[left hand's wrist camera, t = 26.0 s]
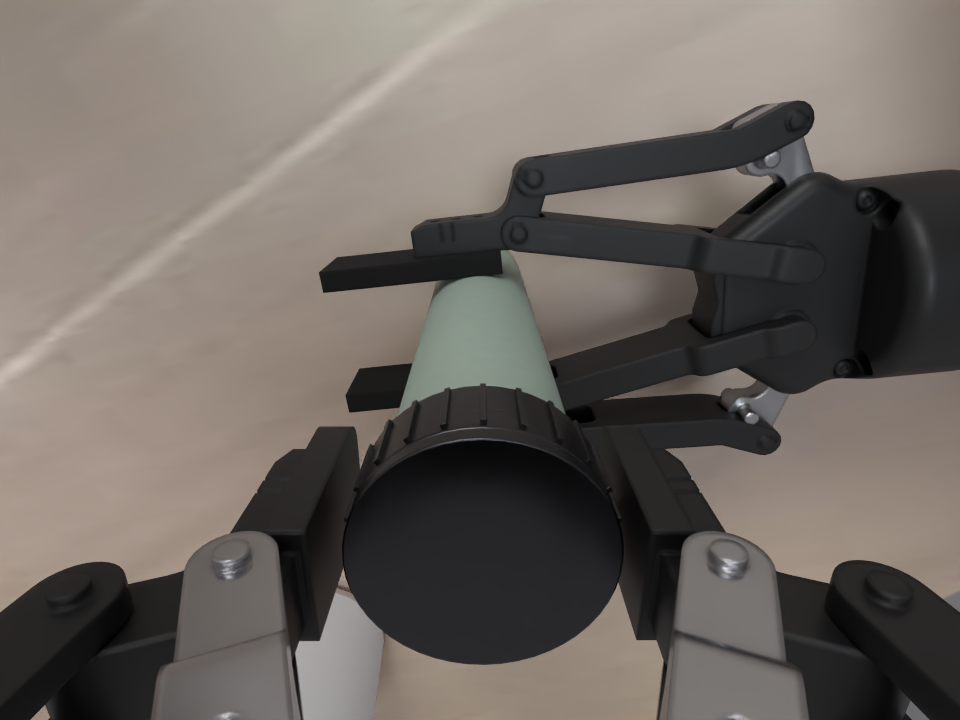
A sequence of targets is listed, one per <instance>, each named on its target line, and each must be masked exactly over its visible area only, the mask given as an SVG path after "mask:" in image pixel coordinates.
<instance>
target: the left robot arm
mask: <svg viewBox="0 0 960 720" xmlns="http://www.w3.org/2000/svg"><path fill="white" fill-rule="evenodd" d="M599 456H600V458H601V461H602V464H603V466H604V469H605V471H606V474H607V477H608V479H609V482H610V484H611V487H612V490H613V492H612V494H613V497H614V500H615V502H616V505H617V507H618V510H619V513H620V515H621V519H622V522H621V523H620V525H621V528H622V535H623V541H624V559H623V565H622V570H621V575H620V578H619V581H618V582H619V586H620V589H621V592H622V595H623V598H624V602H625V605H626V608H627V611H628V614H629V618H630V621H631V624H632V627H633V630H634V634H635V637H636V640H657V643H658V645H659V648H660V651H661V654H662V657H663V659H664V661H663V667H662V674H661V682H660V691H659V699H658V707H657V716H656V720H911V719H910V717H909V716H908V715H907V714H906V710H907V708H908V705H909V702H910V700H911V701H912V702H913V703H914V704H915V705H916V706H917V707H918V708H919V709H920V710H921V711H922V712H923V713H924V714H925V715H926V716H927V717H928V718H929V719H930V720H960V612H958V611H957V610H956V609H955V608H953V607H952V606H951V605H950V604H948V603H947V602H946V601H944V600H943V599H942V598H941V597H939V596H938V595H937V594H936V593H934V592H933V591H932V590H930V589H929V588H928V587H927V586H925V585H924V584H922V583H921V582H920V581H918V580H917V579H915V578H913V577H912V576H910V575H908V574H906V573H904V572H902V571H900V570H898V569H895V568H893V567H890V566H887V565H884V564H880V563H876V562H871V561H864V560H852V561H846V562H843V563H841V564H839V565H838V566H837V567H836V568H835V569H834V571H833V574H832V577H831V581H830V584H828V583H824V582H819V581H815V580H810V579H806V578H801V577H797V576H792V575H788V574H784V573H780V572H777V571H776V569H775V566H774V564H773V562H772V560H771V559H770V557H769V556H768V555H767V554H766V553H765V552H764V551H763V550H762V549H761V548H759V547H758V546H757V545H755V544H753V543H752V542H750V541H748V540H746V539H744V538H742V537H739V536H736V535H733V534H730V533H726V532H725V530H724V529H723V527H722V525H721V524H720V522H719V521H718V519H717V517H716V516H715V514H714V513H713V511H712V509H711V508H710V506H709V505H708V503H707V501H706V500H705V498H704V497H703V495H702V493H699V489H698V487H697V485H696V484H695V482H694V481H693V480H691V476H690V474H689V473H688V471H687V469H686V468H685V466H684V465H683V463H682V462H681V461H680V460H679V459H677V458H676V457H675V456H673V455H672V454H670V453H669V452H668V451H666V450H665V449H651V448H650V446H649V444H648V442H647V441H646V439H645V437H644V435H643V433H642V431H641V430H640V428H639V427H638V426H603V427H602V430H601V434H600V444H599ZM359 472H360V464H359V453H358V442H357V434H356V430H355V428H354V427H318V429H317V430H316V432H315V434H314V435H313V437H312V439H311V441H310V443H309V444H308V446H307V448H306V449H293V450H291V451H290V452H289V453H287V454H286V455H284V456H283V457H282V458H280V459H279V460H278V461H276V462H275V463H274V465H273V466H272V468H271V470H270V471H269V473H268V474H267V476H266V477H265V481H263V482H262V484H261V485H260V487H259V488H258V490H257V493H255V495H254V496H253V498H252V499H251V501H250V503H249V504H248V506H247V507H246V509H245V511H244V512H243V514H242V515H241V517H240V518H239V520H238V522H237V523H236V525H235V526H234V528H233V529H232V531H231V533H230V534H227V535H224V536H221V537H218V538H216V539H214V540H212V541H210V542H208V543H207V544H205V545H203V546H202V547H201V548H199V549H198V550H197V551H196V552H195V553H194V554H193V555H192V556H191V557H190V559H189V560H188V562H187V564H186V566H185V569H184V571H181V572H178V573H175V574H172V575H168V576H163V577H159V578H154V579H150V580H145V581H141V582H136V583H132V584H128V582H127V579H126V576H125V573H124V571H123V569H122V568H121V567H120V566H118V565H116V564H113V563H109V562H91V563H85V564H80V565H76V566H73V567H70V568H67V569H65V570H62V571H60V572H57V573H55V574H53V575H51V576H49V577H47V578H46V579H44V580H42V581H41V582H39V583H38V584H36V585H35V586H34V587H32V588H31V589H30V590H28V591H27V592H26V593H24V594H23V595H22V596H21V597H19V598H18V599H17V600H16V601H14V602H13V603H12V604H10V605H9V606H8V607H7V608H5V609H4V610H3V611H1V612H0V720H30V719H31V718H32V717H33V716H34V715H35V714H36V713H37V712H38V711H39V710H40V709H41V708H42V707H43V706H44V705H45V706H46V708H47V710H48V713H49V715H50V718H49V719H48V720H304V716H303V707H302V699H301V691H300V682H299V674H298V667H297V661H296V655H295V652H296V649H297V647H298V644H299V641H320V639H321V636H322V633H323V629H324V626H325V623H326V620H327V617H328V614H329V611H330V607H331V604H332V601H333V598H334V595H335V592H336V589H337V586H338V582H339V579H340V576H341V573H342V570H343V562H342V542H343V533H344V529H345V526H346V522H344V517H345V514H346V511H347V508H348V505H349V503H350V500H351V497H352V494H353V489H354V486H355V484H356V481H357V478H358V475H359Z"/></svg>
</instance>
